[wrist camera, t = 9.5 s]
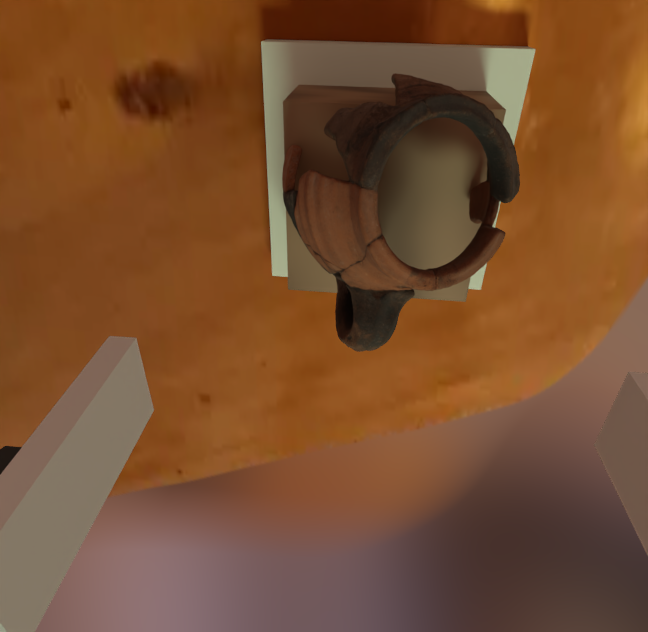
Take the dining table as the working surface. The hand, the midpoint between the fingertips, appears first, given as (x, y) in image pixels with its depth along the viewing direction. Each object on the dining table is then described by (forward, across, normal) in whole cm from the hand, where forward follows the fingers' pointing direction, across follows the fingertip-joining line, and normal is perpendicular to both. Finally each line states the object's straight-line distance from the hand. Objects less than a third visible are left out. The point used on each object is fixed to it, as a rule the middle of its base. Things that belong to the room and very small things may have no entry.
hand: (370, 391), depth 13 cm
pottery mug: (+14, 0, +1) cm, 14 cm away
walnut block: (+18, +1, 0) cm, 19 cm away
